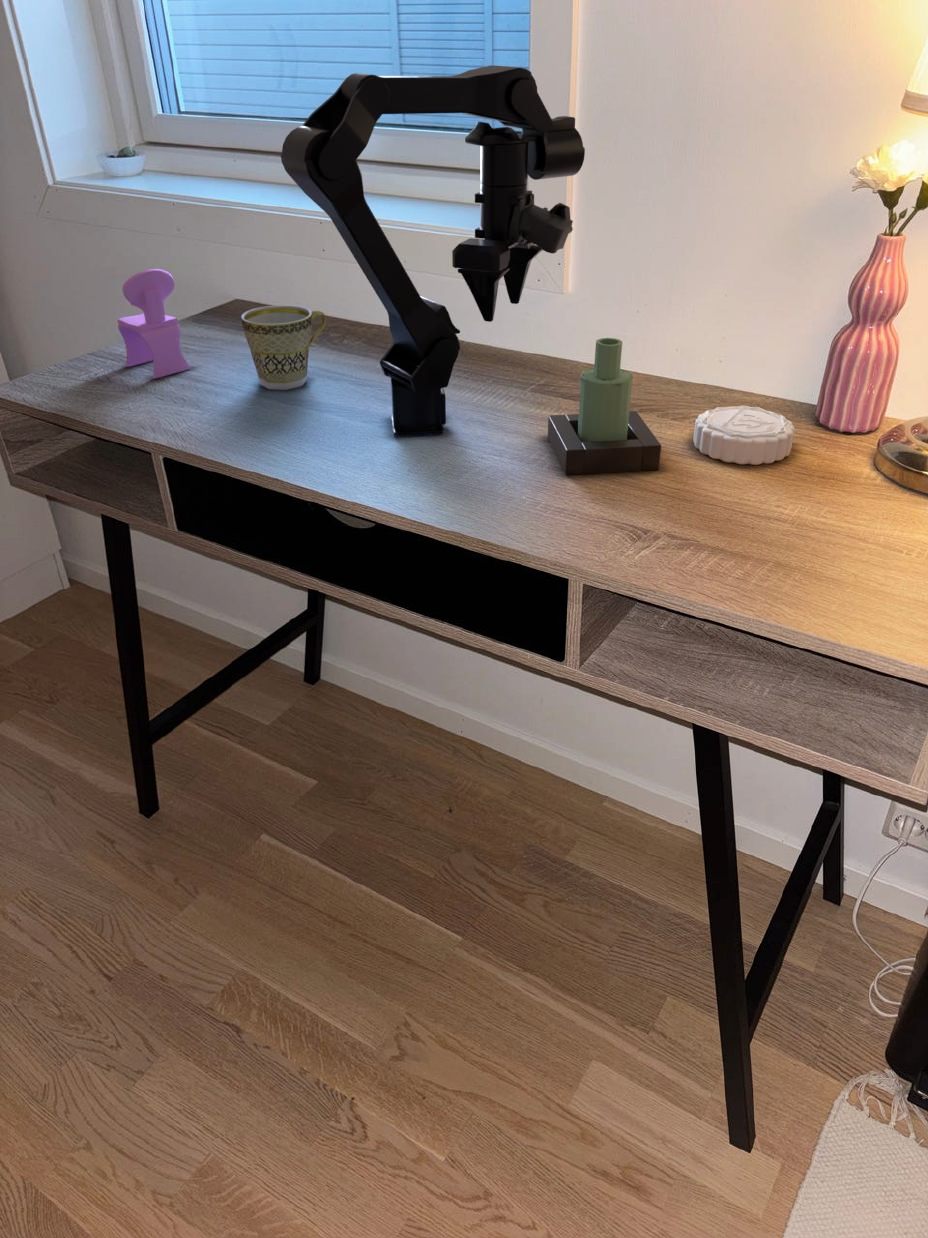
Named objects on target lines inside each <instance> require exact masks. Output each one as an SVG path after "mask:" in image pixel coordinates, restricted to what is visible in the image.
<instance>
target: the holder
mask: <svg viewBox="0 0 928 1238" xmlns="http://www.w3.org/2000/svg"><path fill="white" fill-rule="evenodd" d="M578 421H579V413H571V414H569V413H568V414H551V415H550V414H549V415H548V418H547V440H548V442H549V444H550V447H551V448H552V451H553V453H554V454H555V457H556V459H557V461H558V463H559V465H560V467H561V469H562V471H563V473H564V475H565V476H572V475H574V476H575V475H591V474H592V475H593V474H608V473H609V474H610V473H611V474H613V473H628V472H646V471H649V472H650V471H659V470H660V461H661V453H662V444H661V443H660V442H659V440H658V439H657V437H656V436H655V434H654V433H653V432H652V431H651V429H650V428H649V427H648V425H647V423H645V421H644V419H643V417H641V415H640V414H639V413H638V411H637V410H630V411H629V422H628V434H627V440H616V441H597V442H580V440H579V438H578Z"/></svg>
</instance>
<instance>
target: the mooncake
mask: <svg viewBox="0 0 928 1238" xmlns="http://www.w3.org/2000/svg"><path fill="white" fill-rule="evenodd" d="M795 431H796V428H795V426H794V425H793V422H792V421H791V420H789V419H787V418H786V417H785V416H784V415H783V414H780V413H776V412H774V411H770V410H766V409H764V408H762V407H758V406H748V405H738V406H716V407H715V408H714V409H707V410H705V412H703V413H700V414H699V415H698V417H697V419H695V423H694V430H693V437H692V438H693V439H692V441H693V443H694V447H695V449H697V450H699V452H700V453H701V454H702V455H706V456H709V458H711V459H714V460H720V461H722V462H724V463H735V464H737V465H753V466H759V465H761V464H766V465H767V464H772V463H774V462H779V461H782V460H783V459H784V458H785V457H788V456H789V455H790V454H791V450H792V447H793V442H794V437H795Z"/></svg>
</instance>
